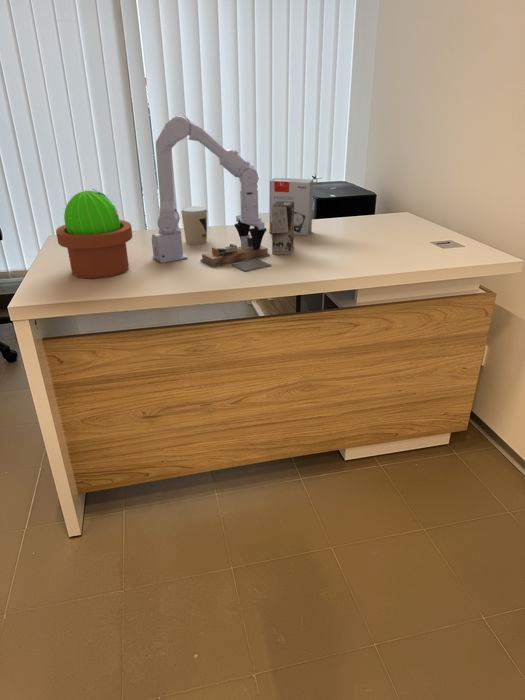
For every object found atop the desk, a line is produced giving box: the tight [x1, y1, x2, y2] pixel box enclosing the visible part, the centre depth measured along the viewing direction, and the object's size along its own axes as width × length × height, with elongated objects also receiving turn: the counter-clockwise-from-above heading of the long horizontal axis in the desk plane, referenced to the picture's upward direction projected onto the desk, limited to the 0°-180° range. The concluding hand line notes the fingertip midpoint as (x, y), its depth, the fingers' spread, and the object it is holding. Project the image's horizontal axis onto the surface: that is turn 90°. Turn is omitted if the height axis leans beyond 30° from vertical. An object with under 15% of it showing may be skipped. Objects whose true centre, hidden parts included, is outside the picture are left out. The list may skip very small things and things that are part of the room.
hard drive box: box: [269, 177, 314, 237], centre depth 198 cm, size 16×8×20 cm, turn 73°
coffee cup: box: [180, 205, 208, 245], centre depth 190 cm, size 9×9×12 cm
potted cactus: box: [55, 188, 133, 279], centre depth 158 cm, size 22×22×25 cm
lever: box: [218, 245, 237, 253], centre depth 168 cm, size 5×2×5 cm
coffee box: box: [271, 201, 295, 256], centre depth 177 cm, size 9×6×16 cm
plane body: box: [200, 243, 270, 268], centre depth 172 cm, size 22×8×5 cm, turn 123°
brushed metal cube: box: [240, 233, 253, 251], centre depth 174 cm, size 5×4×4 cm
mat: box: [231, 258, 272, 273], centre depth 166 cm, size 10×8×1 cm
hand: (250, 246), depth 175 cm, fingers open, 7 cm apart
